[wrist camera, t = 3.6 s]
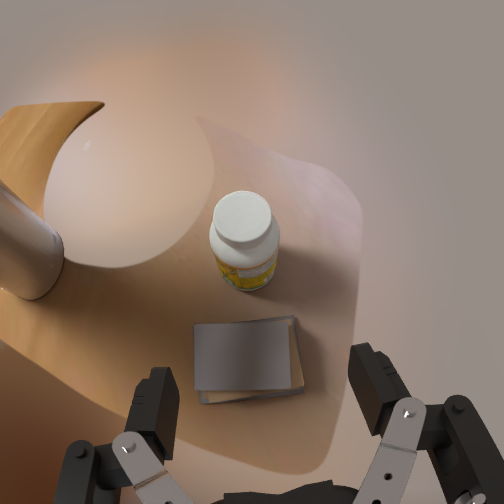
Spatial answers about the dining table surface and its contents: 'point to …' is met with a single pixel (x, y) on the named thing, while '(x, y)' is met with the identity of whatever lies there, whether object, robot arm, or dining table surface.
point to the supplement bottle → (245, 240)
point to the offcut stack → (247, 360)
